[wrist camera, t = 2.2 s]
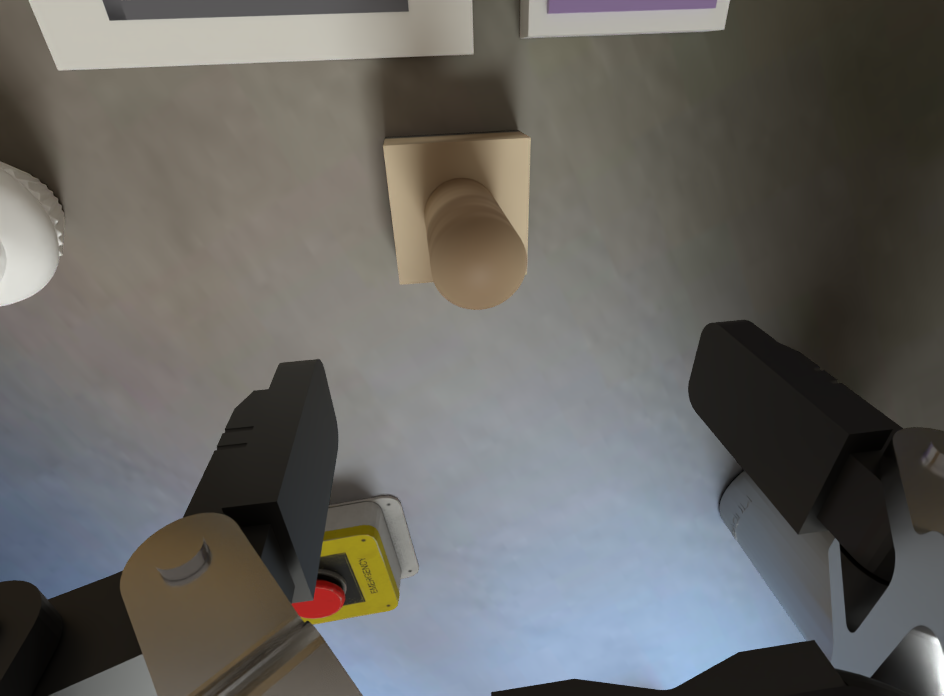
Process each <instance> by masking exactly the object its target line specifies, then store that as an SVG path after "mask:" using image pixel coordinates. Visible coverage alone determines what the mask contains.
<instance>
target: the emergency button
mask: <svg viewBox="0 0 944 696" xmlns="http://www.w3.org/2000/svg"><path fill="white" fill-rule="evenodd" d="M418 570H419V565H418V561H417V558H416V554H415V551H414V547H413V544H412V540H411V537H410V533H409V530H408V526H407V523H406V519H405V516H404V512H403V509H402V505H401V502H400V501H399V500H398V499H397V498H395V497H392V496H380V497H374V498H368V499H362V500H357V501H351V502H345V503H339V504H334V505H329V507H328V513H327V519H326V525H325V532H324V538H323V544H322V550H321V556H320V562H319V569H318V575H317V581H316V587H315V593H314V600H313V601H306V602H299V603H292V606H293V607H294V609H295V610H296V612H297V613H298V615H299V616H300V617H301V619H302V620H303V621H304V622H306V621H309V622H310V623H311V624H312V625H314V624H320V623H325V622H331V621H336V620H342V619H347V618H353V617H358V616H364V615H369V614H375V613H380V612H386V611H390V610H393V609H395V608H396V607H397V606H398V601H399V588H400V580H401V579H403V578H408V577H411V576H414V575H415V574H416V573H417V572H418Z"/></svg>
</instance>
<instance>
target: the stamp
mask: <svg viewBox="0 0 944 696" xmlns="http://www.w3.org/2000/svg"><path fill="white" fill-rule="evenodd" d="M530 143H531V138H530V137H529V136H527V135H525V134H524V133H522V132H520V131H519V130H513V131H494V132H476V133H457V134H438V135H419V136H400V137H385V140H384V144H383V150H384V158H385V166H386V174H387V182H388V191H389V199H390V207H391V215H392V223H393V231H394V240H395V248H396V256H397V264H398V272H399V280H400V285H402V284H414V283H427V282H434V283H435V286H436V287H437V289H438V291H439V292H440V293H441V294H442V296H443V297H445V298H446V299H447V300H448V301H450V302H451V303H453V304H455V305H457V306H459V307H462V308H466V309H473V310H481V309H487V308H491V307H494V306H496V305H499V304H501V303H502V302H504V301H506V300H507V299H508V298H510V297H511V296H512V295H513V294H514V293H515V292H516V290H517V289H518V288H519V286H520V285H521V283H522V281H523V279H524V276H525V275H527V250H528V214H529V178H530Z"/></svg>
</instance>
